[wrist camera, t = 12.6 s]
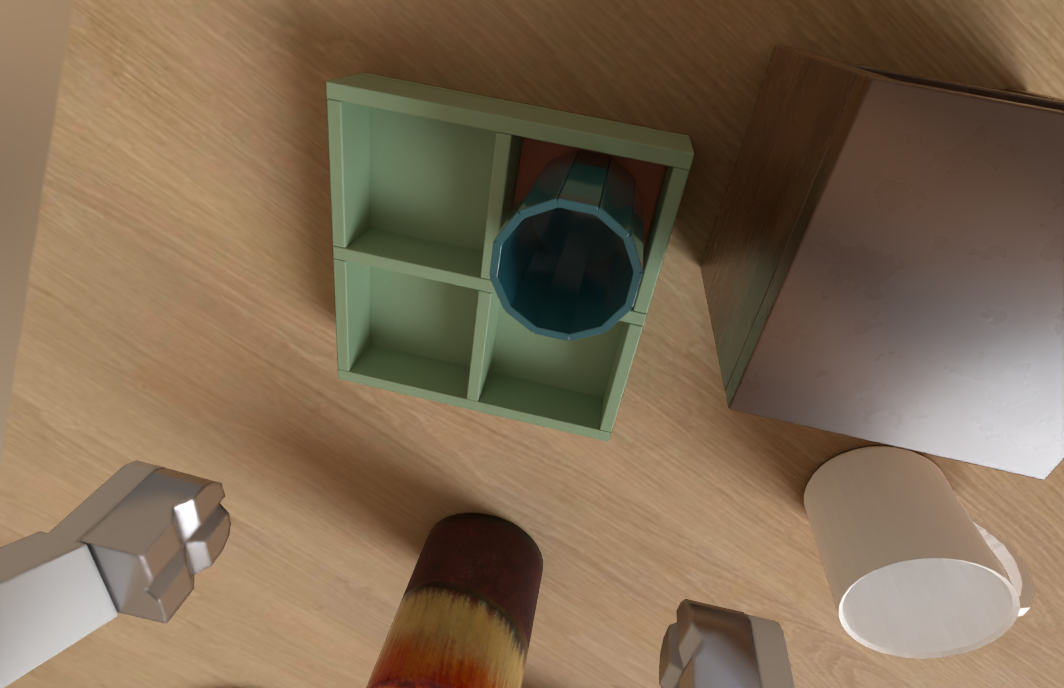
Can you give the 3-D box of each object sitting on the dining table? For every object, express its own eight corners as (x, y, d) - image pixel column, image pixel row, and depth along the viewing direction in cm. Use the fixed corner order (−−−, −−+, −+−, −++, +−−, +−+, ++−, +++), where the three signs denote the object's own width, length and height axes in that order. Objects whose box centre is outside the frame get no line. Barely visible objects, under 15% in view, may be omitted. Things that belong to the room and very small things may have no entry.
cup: (536, 140, 31) (499, 186, 23) (655, 164, 30) (658, 218, 23) (519, 252, 34) (483, 322, 27) (626, 274, 34) (620, 353, 26)
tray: (362, 71, 32) (325, 80, 28) (689, 135, 30) (695, 153, 27) (364, 345, 41) (337, 378, 38) (612, 402, 40) (608, 442, 37)
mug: (779, 513, 43) (809, 629, 35) (845, 426, 38) (897, 538, 30) (931, 562, 43) (995, 689, 35) (1017, 482, 38) (1114, 608, 30)
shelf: (775, 45, 28) (871, 77, 16) (1030, 91, 27) (1332, 162, 15) (700, 267, 34) (727, 409, 22) (903, 310, 33) (1044, 481, 21)
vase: (413, 563, 54) (303, 827, 37) (448, 494, 48) (338, 769, 31) (516, 607, 54) (456, 886, 37) (563, 544, 49) (517, 840, 32)
